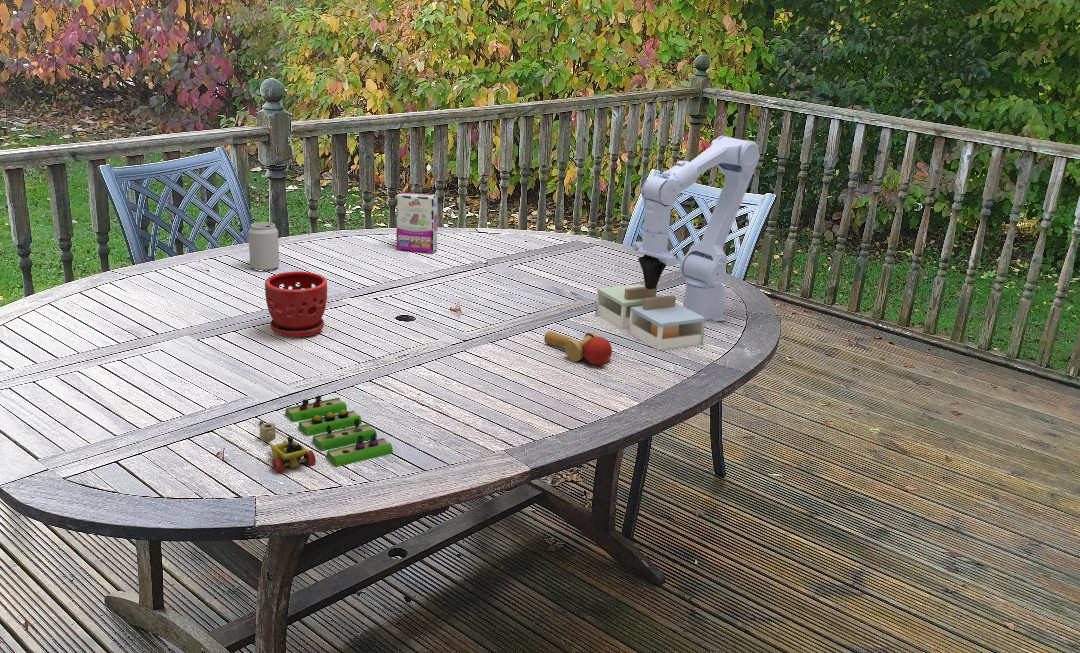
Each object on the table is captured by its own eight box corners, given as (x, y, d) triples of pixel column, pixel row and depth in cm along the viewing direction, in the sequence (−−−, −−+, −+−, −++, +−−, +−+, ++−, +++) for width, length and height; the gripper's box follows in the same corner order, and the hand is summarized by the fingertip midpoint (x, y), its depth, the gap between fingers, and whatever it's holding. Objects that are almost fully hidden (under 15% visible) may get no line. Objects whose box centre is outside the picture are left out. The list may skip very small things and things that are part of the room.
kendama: (533, 353, 213) (593, 367, 200) (536, 325, 212) (596, 337, 199) (559, 352, 218) (618, 366, 205) (561, 324, 217) (621, 336, 204)
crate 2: (671, 330, 228) (674, 305, 226) (702, 347, 218) (705, 321, 216) (628, 335, 222) (630, 310, 221) (657, 353, 213) (660, 327, 211)
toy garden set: (394, 455, 162) (394, 430, 160) (282, 483, 151) (281, 456, 150) (338, 405, 180) (337, 383, 178) (234, 427, 169) (233, 403, 168)
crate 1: (637, 310, 240) (639, 287, 238) (664, 326, 230) (666, 301, 228) (595, 315, 235) (597, 292, 233) (621, 331, 225) (623, 307, 223)
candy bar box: (437, 249, 285) (438, 194, 280) (433, 254, 280) (434, 198, 275) (400, 246, 287) (401, 191, 281) (395, 250, 282) (395, 194, 276)
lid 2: (674, 305, 226) (675, 292, 225) (705, 321, 216) (706, 307, 215) (630, 310, 220) (631, 297, 219) (660, 327, 211) (661, 313, 209)
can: (275, 272, 255) (273, 228, 251) (246, 271, 255) (244, 226, 251) (282, 265, 262) (281, 221, 258) (254, 263, 262) (252, 220, 258)
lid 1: (639, 287, 238) (640, 274, 237) (666, 301, 228) (668, 288, 227) (597, 291, 233) (598, 278, 232) (623, 306, 223) (624, 293, 222)
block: (666, 336, 221) (667, 318, 219) (677, 343, 217) (679, 324, 216) (649, 338, 219) (651, 320, 217) (660, 345, 215) (662, 326, 214)
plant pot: (255, 330, 214) (252, 277, 210) (305, 317, 223) (304, 267, 219) (288, 346, 205) (287, 292, 201) (340, 332, 215) (339, 280, 211)
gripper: (623, 224, 223) (619, 280, 227) (659, 239, 211) (653, 299, 215) (649, 222, 226) (644, 278, 230) (685, 237, 214) (679, 296, 218)
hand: (650, 288), depth 223 cm, fingers closed
